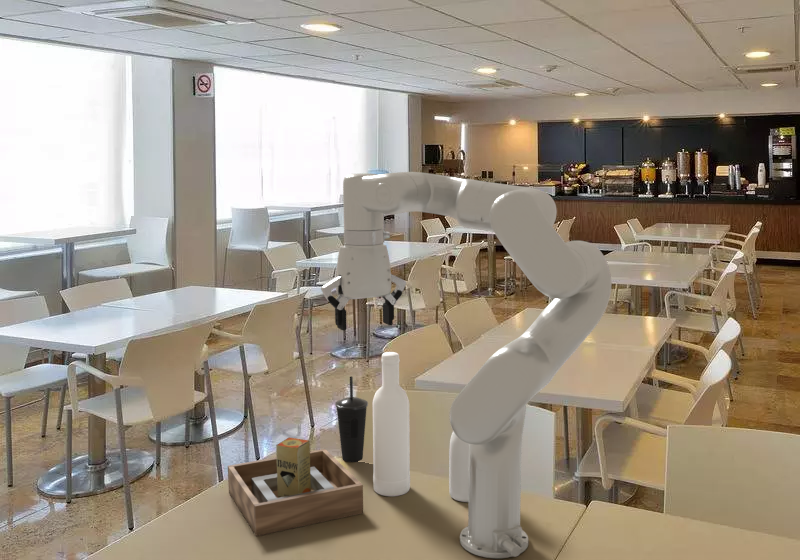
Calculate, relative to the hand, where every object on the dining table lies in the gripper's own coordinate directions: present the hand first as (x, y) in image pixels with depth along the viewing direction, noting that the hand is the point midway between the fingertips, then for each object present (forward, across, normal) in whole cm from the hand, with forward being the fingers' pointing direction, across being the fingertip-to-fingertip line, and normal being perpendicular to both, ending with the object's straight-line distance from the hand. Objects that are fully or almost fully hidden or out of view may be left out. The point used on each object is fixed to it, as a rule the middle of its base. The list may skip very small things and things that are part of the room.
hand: (365, 326), depth 154 cm
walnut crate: (+38, +12, -11) cm, 42 cm away
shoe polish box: (+38, +12, -11) cm, 41 cm away
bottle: (+38, -9, -8) cm, 40 cm away
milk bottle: (+38, -22, +2) cm, 44 cm away
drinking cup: (+38, -8, -28) cm, 48 cm away
